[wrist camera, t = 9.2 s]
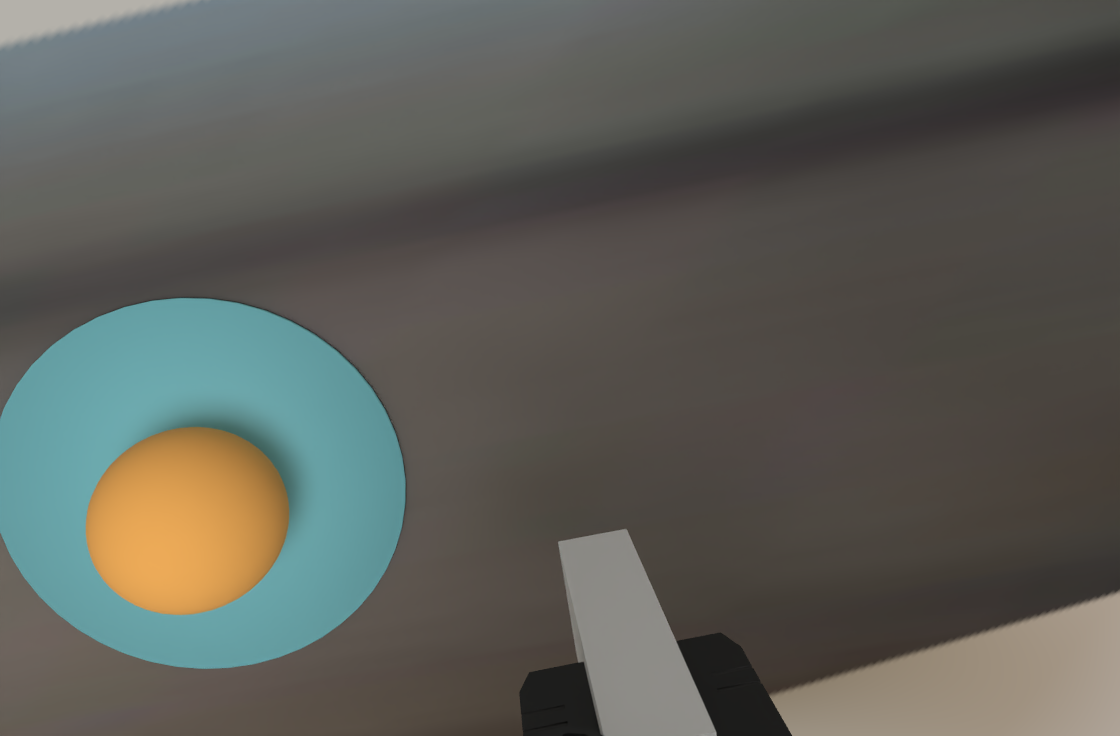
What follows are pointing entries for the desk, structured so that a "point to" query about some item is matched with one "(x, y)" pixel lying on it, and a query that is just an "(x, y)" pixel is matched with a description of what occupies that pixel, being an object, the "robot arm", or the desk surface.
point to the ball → (187, 520)
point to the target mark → (220, 403)
